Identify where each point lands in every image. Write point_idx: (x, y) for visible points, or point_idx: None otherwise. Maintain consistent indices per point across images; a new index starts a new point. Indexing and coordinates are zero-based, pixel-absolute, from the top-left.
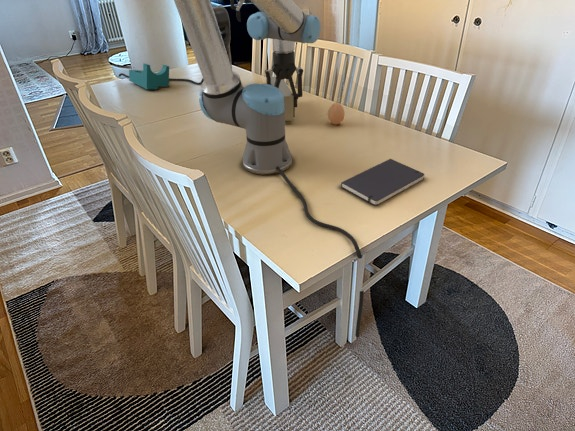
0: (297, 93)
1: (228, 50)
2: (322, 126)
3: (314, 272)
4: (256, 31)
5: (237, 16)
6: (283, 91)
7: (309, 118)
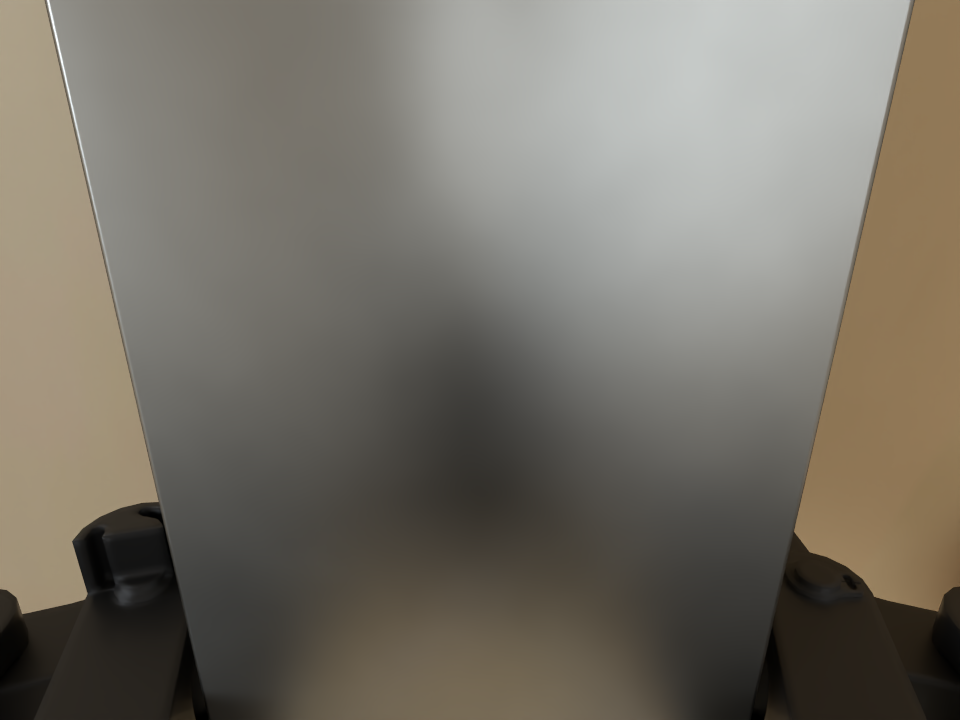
0: (925, 701)
1: None
2: (885, 584)
3: None
4: None
5: None
6: (485, 604)
7: (854, 328)
